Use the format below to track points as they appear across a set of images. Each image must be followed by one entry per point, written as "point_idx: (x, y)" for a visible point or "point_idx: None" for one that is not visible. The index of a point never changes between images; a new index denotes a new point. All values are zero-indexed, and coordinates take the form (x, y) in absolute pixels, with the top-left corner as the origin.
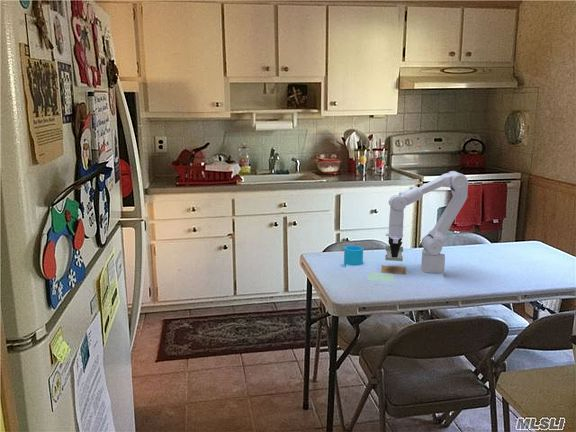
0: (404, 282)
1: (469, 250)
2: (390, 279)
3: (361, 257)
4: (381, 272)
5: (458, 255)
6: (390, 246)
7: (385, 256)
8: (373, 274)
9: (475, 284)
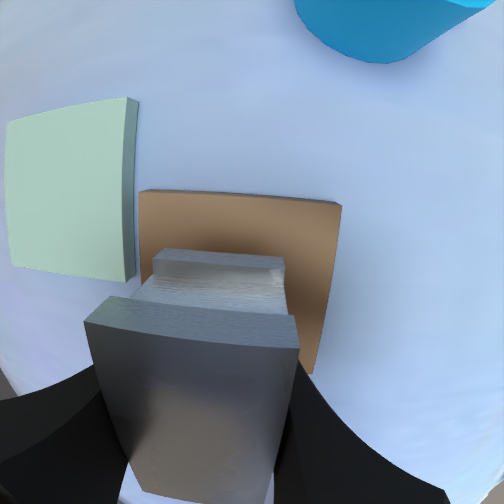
0: (82, 322)
1: (479, 478)
2: (35, 251)
3: (352, 9)
4: (139, 194)
5: (458, 475)
6: (12, 401)
7: (227, 262)
8: (88, 136)
9: (173, 501)
